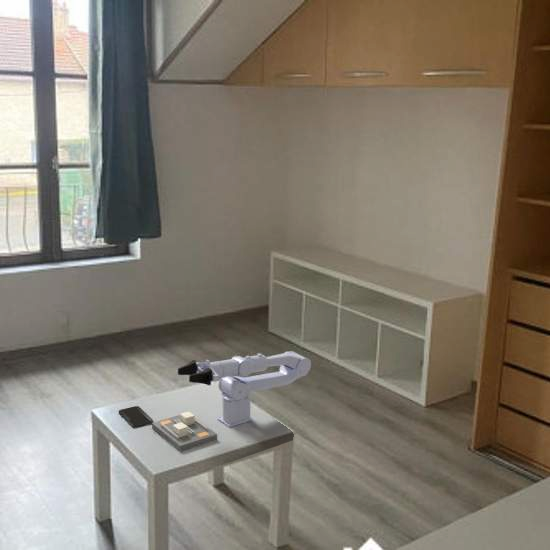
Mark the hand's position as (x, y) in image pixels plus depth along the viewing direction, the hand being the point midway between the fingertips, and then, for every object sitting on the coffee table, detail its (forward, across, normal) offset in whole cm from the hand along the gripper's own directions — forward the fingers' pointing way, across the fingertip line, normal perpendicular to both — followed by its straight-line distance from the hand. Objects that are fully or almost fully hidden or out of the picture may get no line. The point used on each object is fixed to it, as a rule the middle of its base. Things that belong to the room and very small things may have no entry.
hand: (183, 375), depth 239 cm
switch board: (-2, -1, +22) cm, 22 cm away
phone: (+6, -22, +23) cm, 32 cm away
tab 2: (+1, +2, +20) cm, 20 cm away
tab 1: (-5, -4, +19) cm, 20 cm away
